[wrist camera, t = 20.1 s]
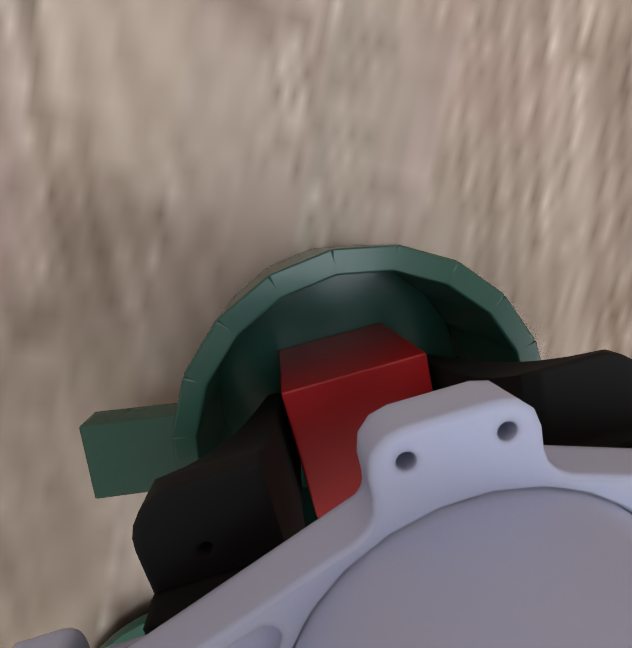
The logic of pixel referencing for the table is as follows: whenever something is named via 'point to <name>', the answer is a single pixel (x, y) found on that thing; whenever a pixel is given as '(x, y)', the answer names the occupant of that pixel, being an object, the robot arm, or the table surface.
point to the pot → (294, 329)
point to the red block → (344, 401)
